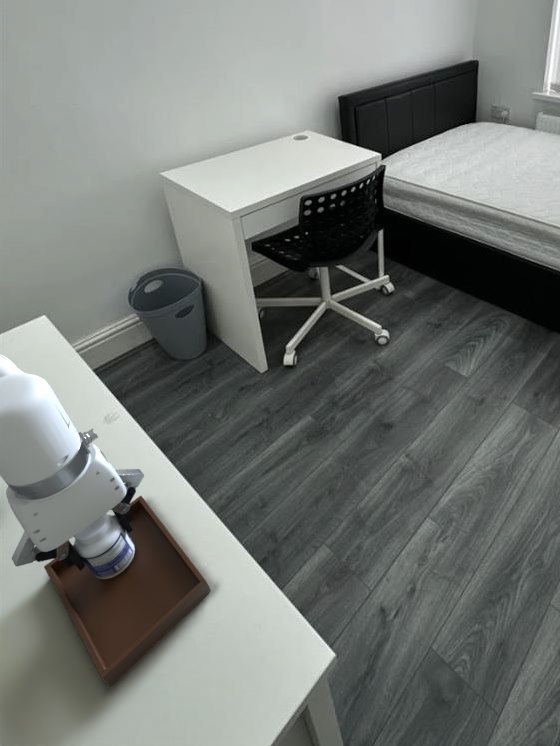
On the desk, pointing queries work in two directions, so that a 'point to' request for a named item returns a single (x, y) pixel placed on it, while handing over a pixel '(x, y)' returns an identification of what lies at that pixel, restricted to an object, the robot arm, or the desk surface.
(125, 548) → the pill bottle
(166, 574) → the tray
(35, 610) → the desk surface
